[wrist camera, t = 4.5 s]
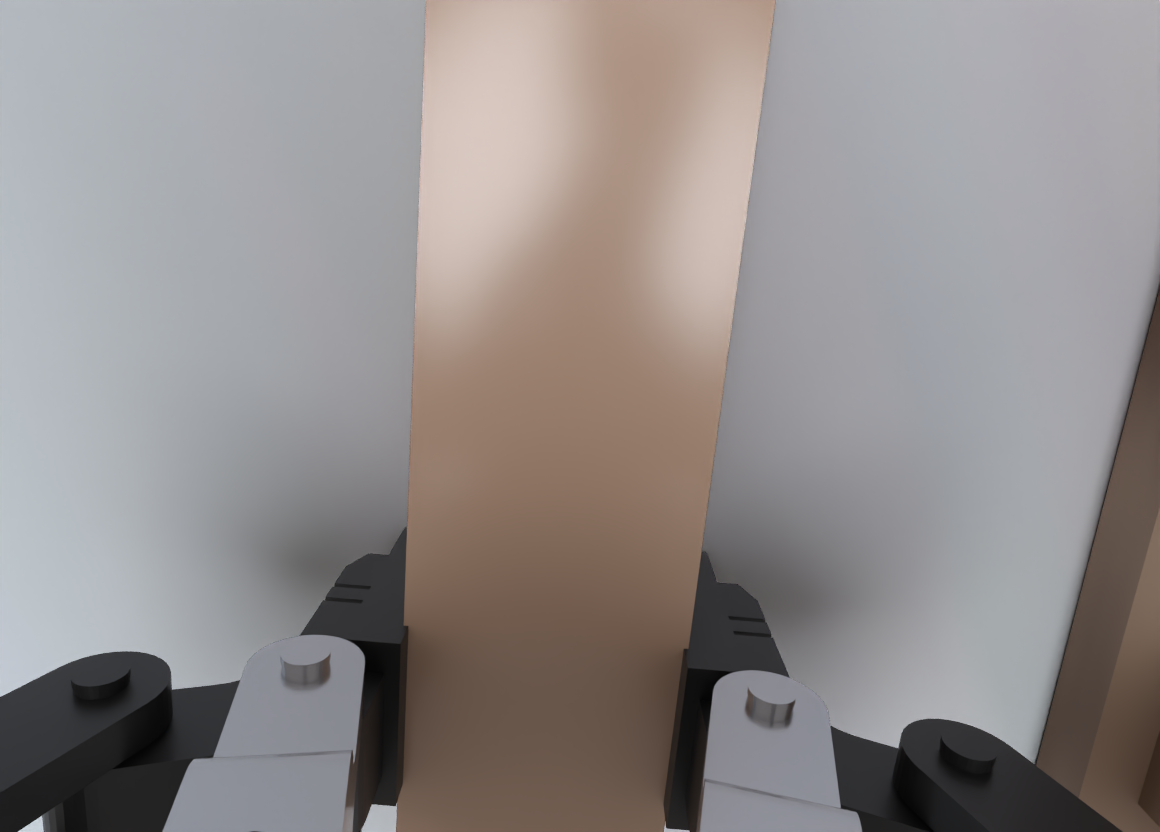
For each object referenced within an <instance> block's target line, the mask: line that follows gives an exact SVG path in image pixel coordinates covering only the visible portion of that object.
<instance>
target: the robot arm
mask: <svg viewBox="0 0 1160 832" xmlns="http://www.w3.org/2000/svg"><path fill="white" fill-rule="evenodd" d="M406 546H407V527H405V528H404V530H403V532H402V533H401V535H400V537H399V539H398V540H397V542H396V544H395V546H394V547H393V549H392V551H391V553H390V554H389V555H381V554H367V555H365V556H364V557H362V558H360V559H358V560H357V561H355V562H353V563H352V564H350V565H348V566H346V568H345V569H344V570H343V572H342V573H341V575H340V576H339V578H338V579H337V581H336V582H335V586H334V587H332V588H331V590H330V591H329V593H328V594H327V596H326V599H325V601H324V600H323V602H322V603H321V605H320V606H319V608H318V609H317V611H316V612H315V614H314V615H313V617H312V618H311V620H310V621H309V623H308V624H307V626H306V627H305V629H304V630H303V632H302V633H301V635H300V636H296V637H291V638H287V639H283V640H280V641H277V642H274V643H272V644H270V645H268V646H265V647H264V648H262V649H261V650H259V651H258V652H256V653H255V654H254V655H253V656H252V657H251V658H250V659H249V660H248V662H247V664H246V666H245V668H244V671H243V674H242V677H241V680H240V681H235V682H231V683H226V684H219V685H211V686H202V687H193V688H184V689H175V690H172V684H171V671H170V668H169V666H168V665H167V663H166V662H164V661H163V660H162V659H160V658H158V657H156V656H154V655H150V654H147V653H140V652H111V653H103V654H98V655H93V656H89V657H86V658H82V659H79V660H76V661H73V662H71V663H68V664H66V665H64V666H61V667H59V668H57V669H55V670H53V671H51V672H49V673H47V674H45V675H43V676H41V677H39V678H37V679H35V680H33V681H31V682H29V683H28V684H26V685H24V686H22V687H20V688H18V689H16V690H14V691H12V692H10V693H8V694H6V695H4V696H2V697H0V832H18V831H19V830H21V829H22V828H24V827H25V826H27V825H28V824H30V823H31V822H33V821H34V820H36V819H37V818H39V817H40V816H42V818H43V828H44V832H362V827H363V825H364V823H365V821H366V818H367V816H368V813H369V810H370V807H371V805H372V804H377V805H389V806H396V804H397V801H398V797H399V794H400V791H401V788H402V785H403V768H404V740H405V711H406V682H407V654H408V626H404V601H405V573H406ZM663 805H664V813H665V821H666V828H668V829H681V830H690V832H1123V831H1121V830H1120V829H1119V828H1117V827H1116V826H1115V825H1113V824H1112V823H1111V822H1109V821H1108V820H1107V819H1105V818H1104V817H1103V816H1102V815H1100V814H1099V813H1098V812H1096V811H1095V810H1094V809H1092V808H1091V807H1090V806H1088V805H1087V804H1086V803H1084V802H1083V801H1082V800H1080V799H1079V798H1078V797H1076V796H1075V795H1074V794H1072V793H1071V792H1070V791H1069V790H1067V789H1066V788H1065V787H1063V786H1062V785H1061V784H1059V783H1058V782H1057V781H1055V780H1054V779H1053V778H1051V777H1050V776H1049V775H1047V774H1046V773H1045V772H1043V771H1042V770H1041V769H1039V768H1038V767H1037V766H1036V765H1034V764H1033V763H1032V762H1030V761H1029V760H1028V759H1026V758H1025V757H1024V756H1022V755H1021V754H1020V753H1018V752H1017V751H1016V750H1014V749H1013V748H1012V747H1010V746H1009V745H1008V744H1006V743H1005V742H1003V741H1002V740H1000V739H998V738H996V737H995V736H993V735H991V734H989V733H987V732H985V731H983V730H980V729H978V728H975V727H973V726H970V725H967V724H963V723H960V722H955V721H950V720H943V719H924V720H919V721H915V722H913V723H911V724H909V725H908V726H907V727H906V728H905V729H904V730H903V732H902V734H901V739H900V743H899V748H895V747H891V746H887V745H884V744H880V743H877V742H873V741H870V740H866V739H863V738H859V737H856V736H853V735H850V734H848V733H845V732H843V731H840V730H838V729H836V728H834V727H832V726H830V720H829V713H828V709H827V707H826V705H825V703H824V702H823V701H822V699H821V698H820V697H819V696H818V695H817V694H816V693H815V692H814V691H812V690H811V689H809V688H808V687H807V686H805V685H803V684H801V683H800V682H798V681H796V680H793V679H791V678H790V677H789V675H788V673H787V670H786V668H785V666H784V663H783V661H782V658H781V656H780V654H779V651H778V649H777V647H776V644H775V642H774V639H773V638H771V632H770V630H769V627H768V625H767V623H765V618H764V616H763V613H762V611H761V608H760V606H759V604H758V601H757V600H756V599H754V598H753V597H752V596H751V595H750V594H748V593H747V592H746V591H745V590H744V589H743V588H741V587H740V586H739V585H738V584H727V583H717V581H716V578H715V575H714V572H713V570H712V567H711V564H710V561H709V558H708V555H707V553H706V552H701V559H700V567H699V574H698V581H697V589H696V596H695V604H694V611H693V619H692V626H691V633H690V641H689V648H688V649H684V650H683V658H682V666H681V673H680V681H679V689H678V696H677V704H676V712H675V719H674V727H673V735H672V742H671V750H670V758H669V765H668V773H667V781H666V789H665V796H664V804H663Z"/></svg>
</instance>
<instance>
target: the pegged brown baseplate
mask: <svg viewBox="0 0 1160 832" xmlns="http://www.w3.org/2000/svg"><path fill="white" fill-rule="evenodd" d="M1036 766H1037V767H1038V768H1039V769H1041V770H1042V771H1043V772H1045V773H1046V774H1047V775H1049V776H1050V777H1051V778H1053V779H1054V780H1055V781H1057V782H1058V783H1059V784H1061V785H1062V786H1063V787H1065V788H1066V789H1067V790H1069V791H1070V792H1071V793H1072V794H1074V795H1075V796H1076V797H1078V798H1079V799H1080V800H1082V801H1083V802H1084V803H1086V804H1087V805H1088V806H1090V807H1091V808H1092V809H1094V810H1095V811H1096V812H1098V813H1099V814H1100V815H1102V816H1103V817H1104V818H1105V819H1107V820H1108V821H1109V822H1111V823H1112V824H1113V825H1115V826H1116V827H1117V828H1119V829H1120V830H1121V831H1123V832H1160V290H1159V294H1158V298H1157V301H1156V305H1155V309H1154V313H1153V317H1152V321H1151V325H1150V328H1149V332H1148V336H1147V340H1146V344H1145V348H1144V351H1143V355H1142V359H1141V363H1140V367H1139V371H1138V375H1137V378H1136V382H1135V386H1134V390H1133V394H1132V398H1131V401H1130V405H1129V409H1128V413H1127V417H1126V421H1125V425H1124V428H1123V432H1122V436H1121V440H1120V444H1119V448H1118V451H1117V455H1116V459H1115V463H1114V467H1113V471H1112V475H1111V478H1110V482H1109V486H1108V490H1107V494H1106V498H1105V501H1104V505H1103V509H1102V513H1101V517H1100V521H1099V525H1098V528H1097V532H1096V536H1095V540H1094V544H1093V548H1092V551H1091V555H1090V559H1089V563H1088V567H1087V571H1086V575H1085V578H1084V582H1083V586H1082V590H1081V594H1080V598H1079V601H1078V605H1077V609H1076V613H1075V617H1074V621H1073V625H1072V628H1071V632H1070V636H1069V640H1068V644H1067V648H1066V651H1065V655H1064V659H1063V663H1062V667H1061V671H1060V675H1059V678H1058V682H1057V686H1056V690H1055V694H1054V698H1053V701H1052V705H1051V709H1050V713H1049V717H1048V721H1047V725H1046V728H1045V732H1044V736H1043V740H1042V744H1041V748H1040V751H1039V755H1038V759H1037V763H1036Z"/></svg>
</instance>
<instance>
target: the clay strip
mask: <svg viewBox="0 0 1160 832" xmlns="http://www.w3.org/2000/svg"><path fill="white" fill-rule="evenodd" d="M775 3H776V0H426V18H425V46H424V74H423V102H422V129H421V157H420V185H419V213H418V240H417V268H416V296H415V324H414V351H413V379H412V407H411V435H410V462H409V490H408V518H407V546H406V573H405V601H404V626H408V654H407V682H406V711H405V740H404V768H403V785H402V788H401V791H400V794H399V797H398V801H397V823H396V832H664V826H665V813H664V805H663V804H664V796H665V789H666V781H667V773H668V765H669V758H670V750H671V742H672V735H673V727H674V719H675V712H676V704H677V696H678V689H679V681H680V673H681V666H682V658H683V650H684V649H688V648H689V641H690V633H691V626H692V619H693V611H694V604H695V596H696V589H697V581H698V574H699V567H700V559H701V552H702V544H703V537H704V530H705V522H706V515H707V507H708V500H709V492H710V485H711V478H712V470H713V463H714V455H715V448H716V440H717V433H718V426H719V418H720V411H721V403H722V396H723V389H724V381H725V374H726V366H727V359H728V351H729V344H730V337H731V329H732V322H733V314H734V307H735V299H736V292H737V285H738V277H739V270H740V262H741V255H742V248H743V240H744V233H745V225H746V218H747V210H748V203H749V196H750V188H751V181H752V173H753V166H754V158H755V151H756V144H757V136H758V129H759V121H760V114H761V107H762V99H763V92H764V84H765V77H766V69H767V62H768V55H769V47H770V40H771V32H772V25H773V18H774V10H775Z"/></svg>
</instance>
